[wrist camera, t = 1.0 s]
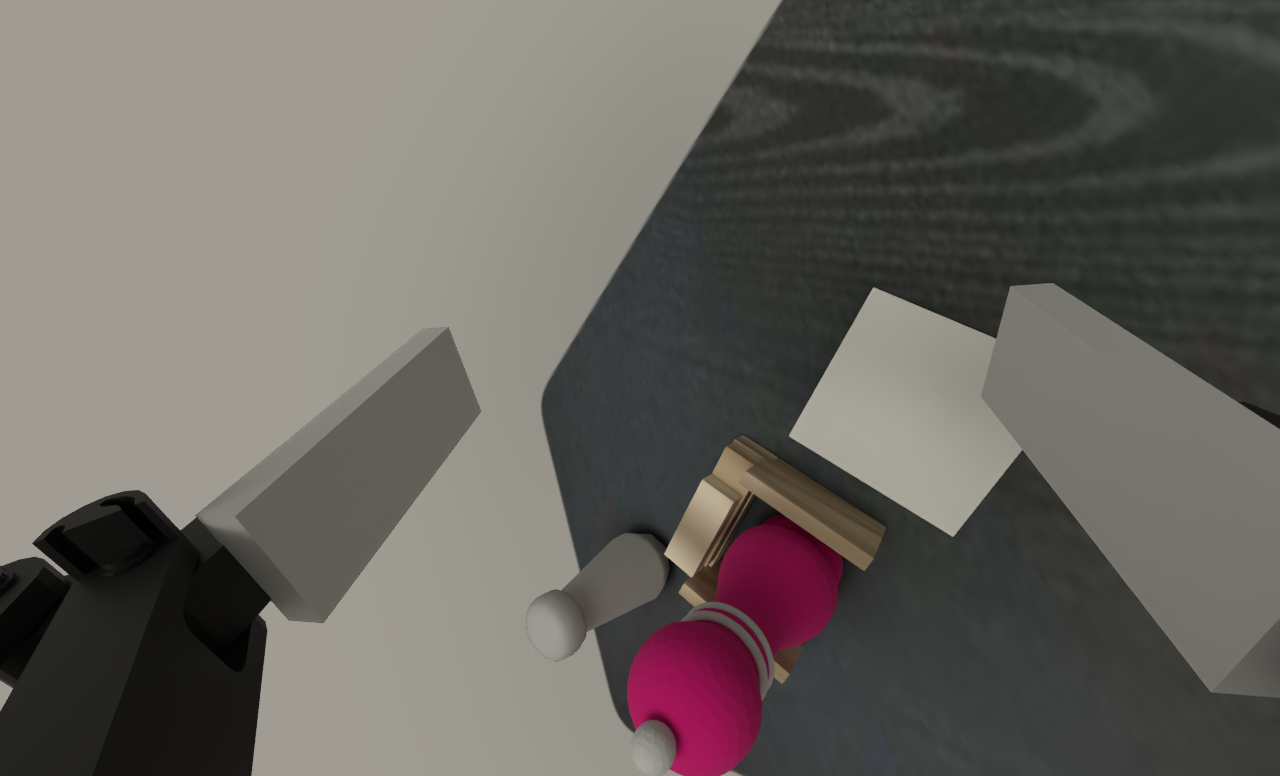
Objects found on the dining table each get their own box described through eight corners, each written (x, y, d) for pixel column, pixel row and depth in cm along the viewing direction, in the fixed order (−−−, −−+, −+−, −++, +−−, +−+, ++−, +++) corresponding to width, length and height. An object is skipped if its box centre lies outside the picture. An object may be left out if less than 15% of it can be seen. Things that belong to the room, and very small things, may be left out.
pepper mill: (795, 620, 35) (643, 881, 19) (731, 538, 37) (543, 706, 21) (875, 574, 32) (774, 844, 15) (799, 485, 34) (638, 638, 17)
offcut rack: (742, 434, 36) (713, 449, 32) (886, 527, 31) (873, 558, 27) (685, 544, 40) (652, 569, 36) (804, 641, 35) (782, 684, 31)
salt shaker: (676, 599, 41) (573, 696, 30) (622, 576, 44) (511, 656, 33) (680, 535, 40) (575, 612, 29) (624, 516, 43) (511, 579, 32)
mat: (875, 287, 30) (873, 287, 29) (1079, 373, 25) (1081, 374, 24) (791, 434, 34) (788, 436, 33) (953, 533, 29) (953, 537, 28)
